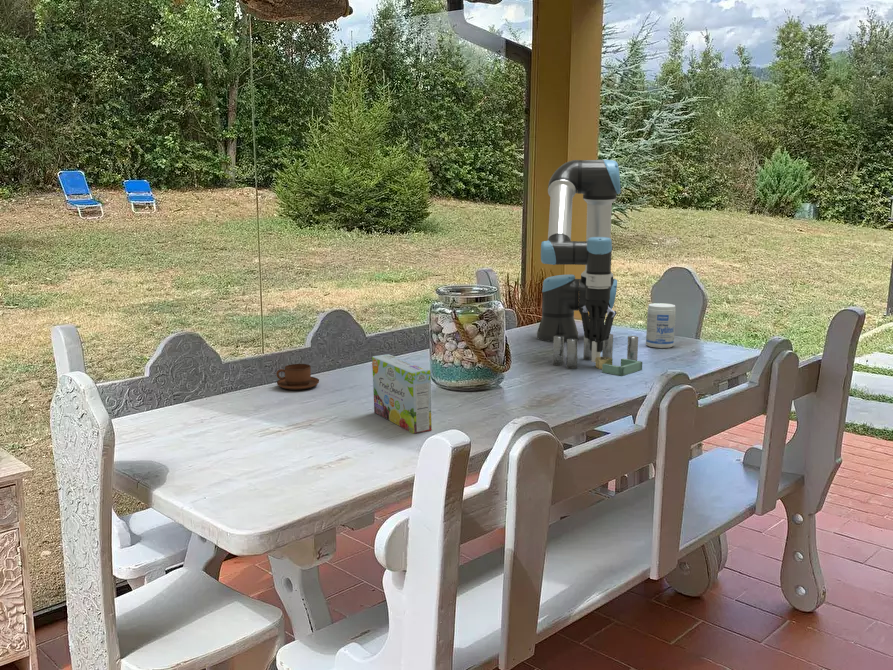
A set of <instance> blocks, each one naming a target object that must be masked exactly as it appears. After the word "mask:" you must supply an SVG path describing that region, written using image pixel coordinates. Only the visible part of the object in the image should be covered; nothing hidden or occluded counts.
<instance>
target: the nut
mask: <svg viewBox="0 0 893 670" xmlns="http://www.w3.org/2000/svg"><path fill="white" fill-rule="evenodd" d="M613 360H614V359H613V357H612V358H610V357H602V356H600V357H597V358H596V362H595V368H596V369H598V370H602V365H603V364H610V365H613Z"/></svg>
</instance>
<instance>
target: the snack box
mask: <svg viewBox="0 0 893 670" xmlns="http://www.w3.org/2000/svg"><path fill="white" fill-rule="evenodd" d="M371 364H372V366H371V367H372V385H373V386H372V391H373V410H374V411H373V413H374V414H377V415H379V416H380V417H382V418H384V419H386V420H388V421H389V422H391V423H393V424H395V425H397V426H398V427H400V428H402V429H405V430H406V431H408V432H409V433H411V434H414V435H415V434H419V433H425V432H429V431H433V429H432V425H433V424H432V390H431V389H432V388H431V387H432V386H431V384H432V381H431V377H432V375H431V369H428V368H425V367H423V366H420V365H417V364H415V363H414V362H413V363H412V362H410V361H408V360H406V359H405V360H404V359H403V358H400V357H397V356H395V355H392V354H386V353H385V354H380V355H374V356H371Z"/></svg>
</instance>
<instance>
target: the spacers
mask: <svg viewBox="0 0 893 670" xmlns="http://www.w3.org/2000/svg"><path fill="white" fill-rule="evenodd" d="M578 340H579V338H578V339H567V341H566V368H567V369H572V370H575V369H577V368H578V343H579V342H578ZM564 343H565V342H564V336H554V342H553V348H552V349H553V350H552V351H553V355H552V356H553V357H552V358H553V359H552V363H553V366H564V352H565V351H564V345H565V344H564ZM613 347H614V334H613V333H610V335H609V339H608V340H604V341H603V350H602V355H601V357H610V358H612V359H613V352H614V351H613V350H614V349H613ZM638 347H639V336H636V335H629V336H627V352H626V359H629V360H635V361H638V355H639V354H638V353H639V351H638V350H639V348H638ZM583 360H585V361H591V360H592V351H590V340H589V339H588V338H585V335H584V334H583Z"/></svg>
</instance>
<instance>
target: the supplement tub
mask: <svg viewBox="0 0 893 670" xmlns="http://www.w3.org/2000/svg"><path fill="white" fill-rule="evenodd" d="M647 306H648V307H647V317H646V334H645V335H646V336H645V344H646V346H648V347H650V348H656V349H670V348H672V347H674V343H675V331H676V329H675V328H676V309H677V308H676V305H675V304H672V303H660V302H659V303H658V302H657V303H654V302H653V303H649V304H648V305H647Z"/></svg>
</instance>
